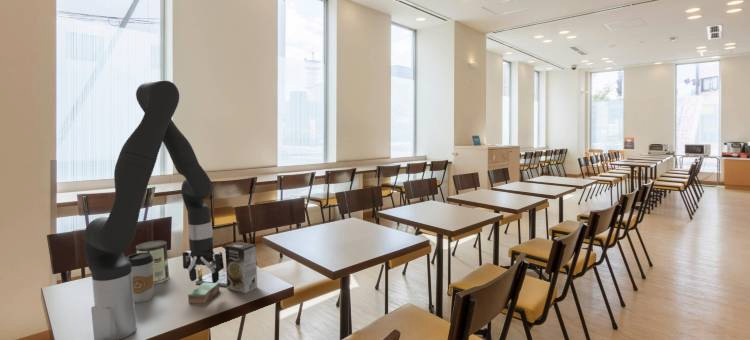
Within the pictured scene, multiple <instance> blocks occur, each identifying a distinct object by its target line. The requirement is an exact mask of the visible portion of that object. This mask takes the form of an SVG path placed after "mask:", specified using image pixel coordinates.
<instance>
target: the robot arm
mask: <svg viewBox="0 0 750 340" xmlns="http://www.w3.org/2000/svg"><path fill="white" fill-rule="evenodd" d="M135 98H136V101H137V103H138V105H139V106H140V109H142V112H143V113H144V114H143V115H142V116H143V117H142V119H141V120H140V123H139V124H138V125H137V127H136V128H135V129H134V131H133V132H132V133H131V134H130V135H129V137H128V138H127V139H126V141H125V142H124V143H123V145H122V146H121V150H120V152H119V155H118V157H117V160H116V163H115V168H114V173H113V174H114V175H113V177H114V178H113V179H114V195H115V196H114V202H113V203H112V207H111V208H110V209H111V210H110V211H109V215H108V216H100V217H97V218H95V219H93V220H91V221H90V222H88V225H87V226H86V228H85V229H84V232H83V233H84V234H83V240H84V241H83V242H84V244H83V245H84V251H85V258H86V263H87V267H88V269H89V271H90V273H91V281H92V291H93V302H94V303H93V304H94V305H93V306H91V309H90V310H91V311H90V312H91V321H92V330H93V331H92V332H93V340H121V339H122V340H123V339H125V338H127V337H129V336H131V335H133V334H134V333H135V332H136V331H137V320H136V319H137V318H136V309H135V308H136V307H135V306H136V305H135V302H134V293H133V280H132V268H131V263H130V261H129V260H128V259H127V258H126V257H127V256H126V255H125V253H124V252H125V250H127V249H128V248H129V247H130V246H131V244H132V242H133V241H134V238H135V235H136V232H137V227H138V223H139V217H140V213H141V208H142V206H143V201H144V198H145V195H146V191H147V190H148V189H147V188H148V186H149V182H150V180H151V177H152V174H153V173H154V168H155V165H156V163H157V160H158V156H159V155H158V154H159V152H160V149H161V147H162V144H163V145H164V147H165V148H166V151H167V153H168V154H169V158H170V159H171V161H172V164H173V165H174V169H175V171H176V172H177V173H178V174H180V175H181V176H183V177H184V178H185V179H184V180H183V182H182V184H181V190H180V191H181V196H182V199H183V203H184V206H185V208H186V211H187V220H188V221H187V222H188V223H187V224H188V226H187V227H188V228H187V232H188V233H187V234H188V243H189V246H188V247H189V249H188V250H185V251H183V252H182V268H183V269H184V270H187V271H188V275H189V279H190V282H195V281H196V280H198V275H197V269H196V267H197V266H206V267H207V268H208V269H209V270H210V272H212V283H216V282H217V281H218V280H219V271H223V269H225V265H224V258H223V252H221V251H219V252H214V247H215V246H214V245H215V244H214V233H213V232H214V231H213V225H212V220H211V219H212V217H211V208H210V206H209V205H208V204H206V202H205V201H204V200H205V199H208V198H209V197H210V196H211V195H212V193H213V183H212V181H211V179H210V177H209V175H208V174H207V173H206V171H205V170H204V168H203V167H202V165H200V163H199V160H198V158H197V155H196V153H195V151H194V148H193V145H191V143H190V141H189V140H188V139H187V138H186V136H185V135H184V134H183V133H182V131H181V130H180V128H178V126H176V124H175V122H174V121H173V119H172V118H173V117H174V114H175V112H176V110H177V108H178V105H179V102H180V92H179V89H178V87H177V86H176V84H175V83H174V82H172V81H170V80H167V79H163V80H162V79H160V80H159V79H158V80H151V81H147V82H146V81H145V82H144V83H141V84H140V85H139V86H138V87H137V89H136V92H135ZM191 258H192V260H191ZM211 262H212V264H211Z"/></svg>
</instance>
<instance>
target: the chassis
mask: <svg viewBox="0 0 750 340" xmlns="http://www.w3.org/2000/svg"><path fill="white" fill-rule="evenodd" d="M210 264H212V262H210ZM196 271H197V279H196V280H195V284H196V285H201V284H202V283H212V271H210V272H209V273H207V274H205V275H203V273H202V272H203V270H202V268H201V267H200V268H197V269H196ZM216 283H219V287H227V271H226V270H220V271H219V280H218V281H217V282H216Z"/></svg>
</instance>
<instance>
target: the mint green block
mask: <svg viewBox="0 0 750 340" xmlns="http://www.w3.org/2000/svg"><path fill="white" fill-rule="evenodd" d="M219 291H220V286H219V283H202V284H199V286H197V287H196V288H194V289H193V290H192V291H190V293H189V292H188V294H187V298H188V303H191V304H193V303H195V304H196V303H197V304H206V303H207V302H209V300H210V299H211V298H213V297H214V296H215V295H216V294H218V292H219Z"/></svg>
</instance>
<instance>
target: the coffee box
mask: <svg viewBox="0 0 750 340" xmlns="http://www.w3.org/2000/svg"><path fill="white" fill-rule="evenodd" d="M224 249H225V250H224V251H225V252H224V253H225V269H226V270H225V271H227V288H226V289H227V290H231V291H234V292H235V291H236V292H239V293H242V294H246V293H249V292H251V291H253V290H254V289H255V290H256V288H258V273H257V272H258V270H257V266H258V265H257V244H254V243H249V242H242V241H236V242H233V243H229V244H226V245H225V246H224Z"/></svg>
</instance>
